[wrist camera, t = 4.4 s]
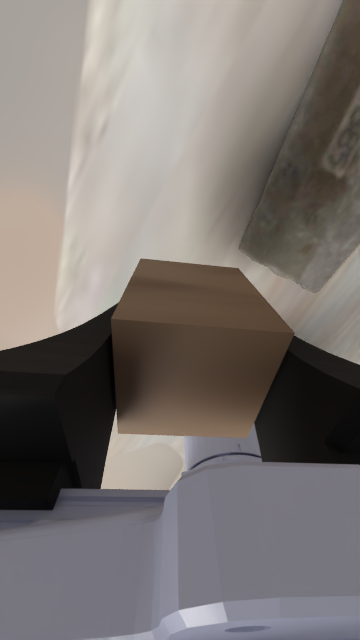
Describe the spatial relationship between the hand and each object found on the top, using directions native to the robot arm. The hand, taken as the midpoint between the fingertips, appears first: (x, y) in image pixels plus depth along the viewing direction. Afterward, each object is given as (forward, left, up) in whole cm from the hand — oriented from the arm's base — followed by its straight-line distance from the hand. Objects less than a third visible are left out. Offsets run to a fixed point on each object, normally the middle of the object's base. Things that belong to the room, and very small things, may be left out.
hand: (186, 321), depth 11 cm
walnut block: (0, 0, -2) cm, 2 cm away
